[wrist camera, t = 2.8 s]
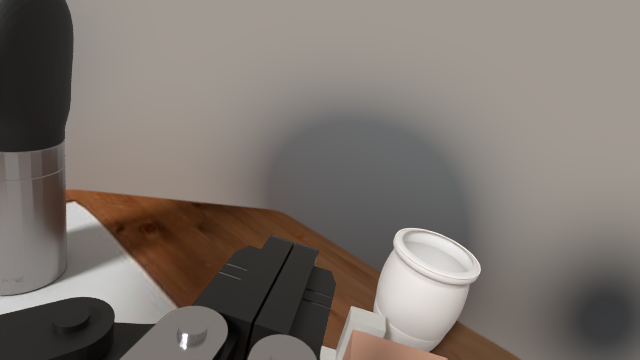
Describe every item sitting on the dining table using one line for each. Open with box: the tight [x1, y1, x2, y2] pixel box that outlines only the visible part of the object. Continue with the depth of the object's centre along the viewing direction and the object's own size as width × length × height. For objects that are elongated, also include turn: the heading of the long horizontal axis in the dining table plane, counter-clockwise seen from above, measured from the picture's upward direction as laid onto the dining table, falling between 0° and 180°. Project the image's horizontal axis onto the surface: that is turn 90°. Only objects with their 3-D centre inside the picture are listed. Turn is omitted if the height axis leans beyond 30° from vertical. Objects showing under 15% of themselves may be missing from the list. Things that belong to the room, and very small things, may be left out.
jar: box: [374, 228, 481, 353], centre depth 44 cm, size 11×10×15 cm
